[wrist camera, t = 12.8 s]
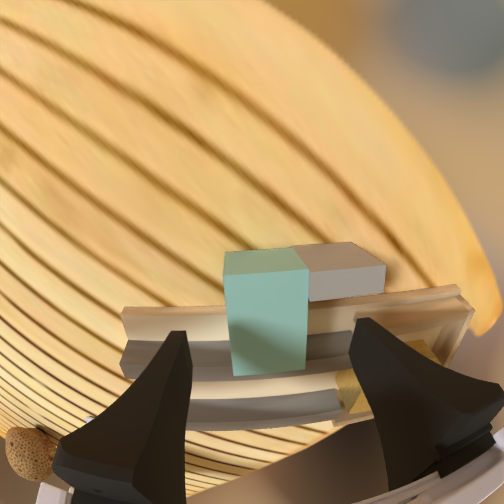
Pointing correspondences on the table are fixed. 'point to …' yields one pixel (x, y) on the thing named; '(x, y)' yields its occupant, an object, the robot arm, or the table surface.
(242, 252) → the two-tone l-shaped block
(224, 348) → the slot board
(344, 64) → the table surface
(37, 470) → the natural sponge
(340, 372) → the golden brown cube
